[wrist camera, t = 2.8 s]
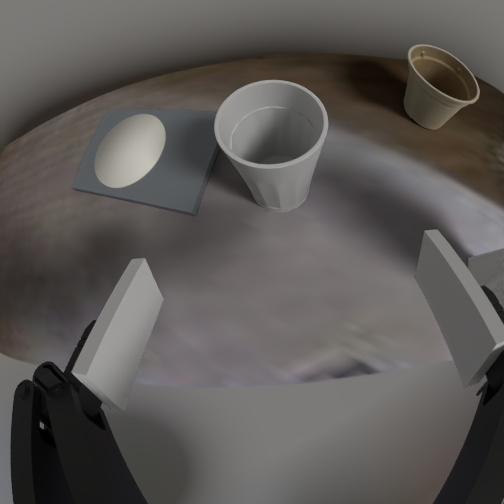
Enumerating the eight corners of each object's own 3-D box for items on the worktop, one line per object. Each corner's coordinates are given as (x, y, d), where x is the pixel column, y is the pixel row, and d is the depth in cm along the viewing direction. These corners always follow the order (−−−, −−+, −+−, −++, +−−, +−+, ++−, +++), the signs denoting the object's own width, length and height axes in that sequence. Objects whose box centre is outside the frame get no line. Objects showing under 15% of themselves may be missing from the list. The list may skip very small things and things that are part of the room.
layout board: (76, 190, 34) (70, 187, 33) (111, 113, 36) (106, 109, 35) (195, 216, 31) (191, 212, 29) (230, 119, 32) (228, 112, 31)
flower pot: (419, 149, 28) (447, 108, 20) (377, 93, 30) (391, 47, 22) (463, 132, 28) (492, 97, 19) (424, 81, 30) (442, 42, 21)
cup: (246, 152, 31) (221, 82, 19) (317, 153, 30) (324, 80, 18) (240, 219, 30) (206, 169, 18) (317, 222, 29) (330, 170, 17)
